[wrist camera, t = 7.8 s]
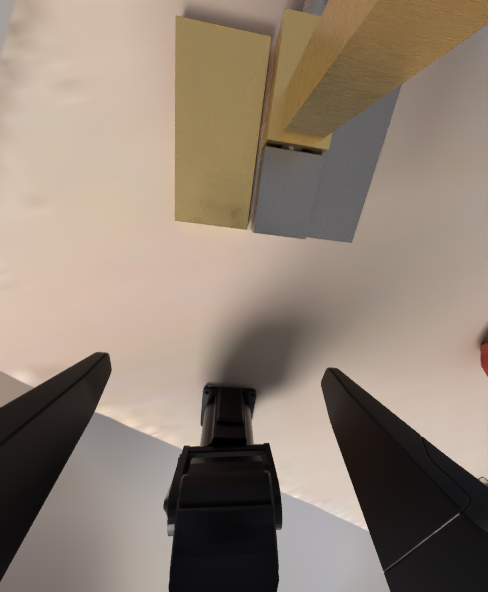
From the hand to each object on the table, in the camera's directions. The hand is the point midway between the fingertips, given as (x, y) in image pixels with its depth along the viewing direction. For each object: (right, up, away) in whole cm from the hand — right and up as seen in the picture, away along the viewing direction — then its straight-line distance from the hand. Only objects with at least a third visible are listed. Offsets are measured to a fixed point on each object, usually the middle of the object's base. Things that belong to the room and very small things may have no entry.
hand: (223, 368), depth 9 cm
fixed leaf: (+7, +15, +8) cm, 19 cm away
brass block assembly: (+1, +15, +8) cm, 17 cm away
